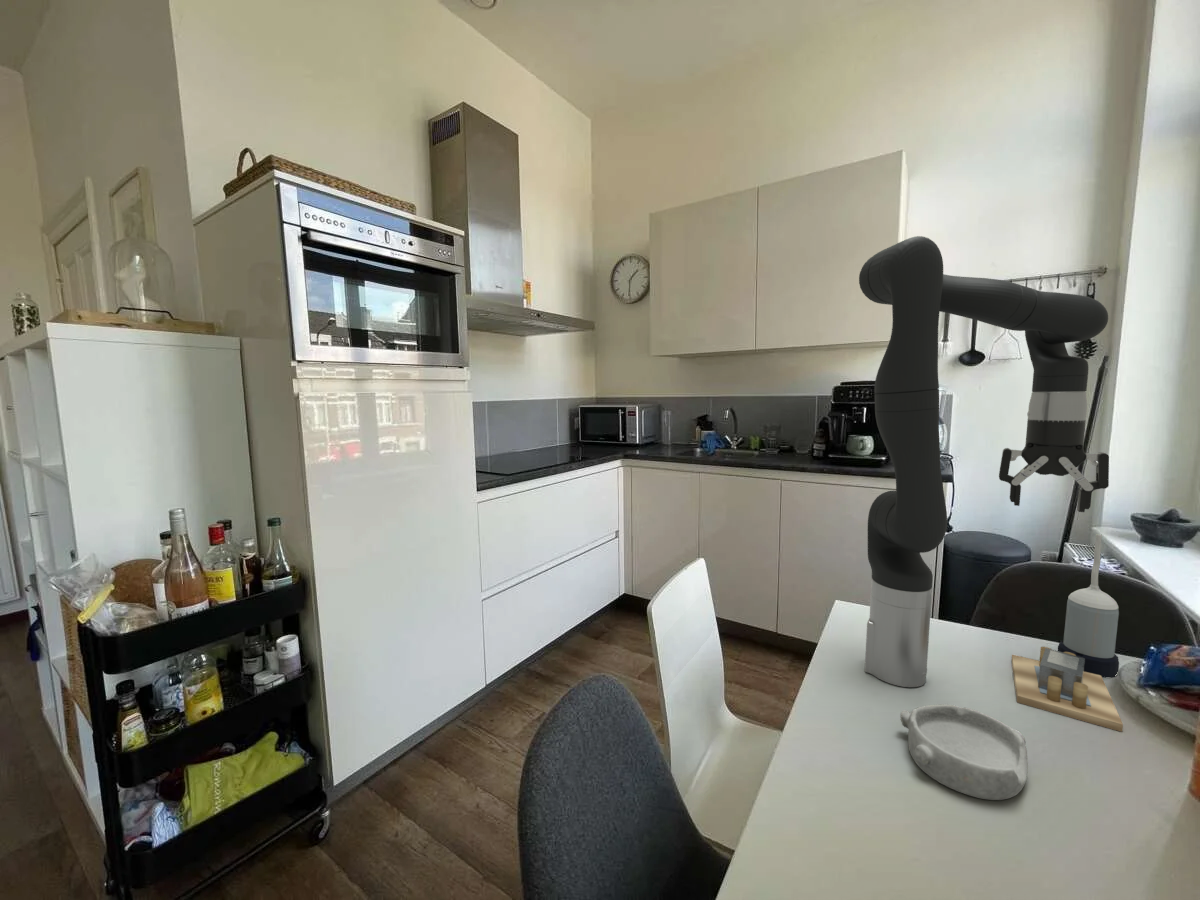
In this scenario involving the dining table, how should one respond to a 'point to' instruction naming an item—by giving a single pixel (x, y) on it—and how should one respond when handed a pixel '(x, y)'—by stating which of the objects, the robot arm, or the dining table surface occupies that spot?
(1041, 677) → the block
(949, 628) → the dining table surface
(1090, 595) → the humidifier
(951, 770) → the dish
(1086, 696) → the wooden peg board
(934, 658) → the dining table surface
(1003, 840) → the dining table surface
